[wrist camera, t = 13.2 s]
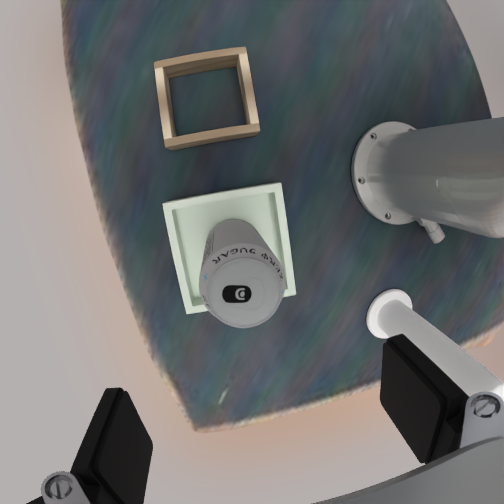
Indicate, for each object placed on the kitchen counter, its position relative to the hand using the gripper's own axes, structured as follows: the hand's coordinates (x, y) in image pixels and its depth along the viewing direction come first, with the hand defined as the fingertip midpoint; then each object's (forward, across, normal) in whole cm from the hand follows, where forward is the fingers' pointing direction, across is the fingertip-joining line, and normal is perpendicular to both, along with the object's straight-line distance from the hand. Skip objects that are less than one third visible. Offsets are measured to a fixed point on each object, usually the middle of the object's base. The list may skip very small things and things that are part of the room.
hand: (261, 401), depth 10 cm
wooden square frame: (+26, 0, -16) cm, 31 cm away
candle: (+26, -19, +13) cm, 35 cm away
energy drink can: (+26, 0, 0) cm, 26 cm away
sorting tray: (+26, 0, 0) cm, 26 cm away
